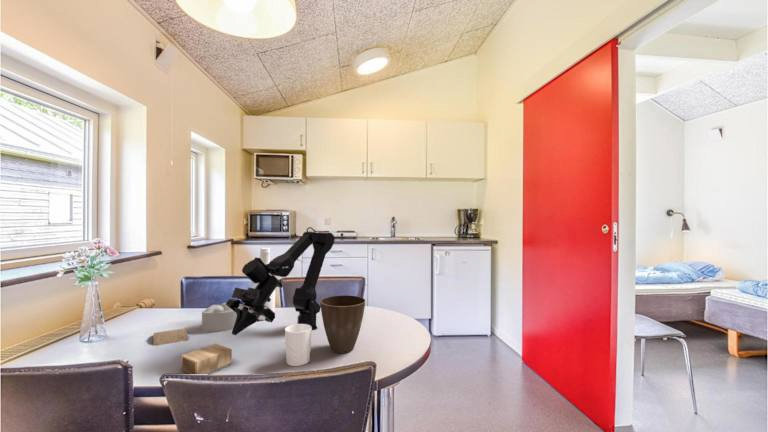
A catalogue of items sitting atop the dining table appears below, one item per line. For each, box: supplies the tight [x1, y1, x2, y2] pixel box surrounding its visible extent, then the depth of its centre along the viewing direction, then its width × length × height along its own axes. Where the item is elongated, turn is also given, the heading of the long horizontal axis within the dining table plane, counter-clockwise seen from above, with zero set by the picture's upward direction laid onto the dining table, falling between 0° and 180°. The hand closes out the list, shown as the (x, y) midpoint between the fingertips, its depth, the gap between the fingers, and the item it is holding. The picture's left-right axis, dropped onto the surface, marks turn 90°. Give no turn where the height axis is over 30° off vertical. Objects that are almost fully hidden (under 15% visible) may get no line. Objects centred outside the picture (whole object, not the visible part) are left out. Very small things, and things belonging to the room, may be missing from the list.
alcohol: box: [253, 247, 276, 321], centre depth 138 cm, size 9×9×30 cm
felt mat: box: [206, 364, 231, 375], centre depth 91 cm, size 8×10×1 cm
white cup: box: [284, 323, 313, 367], centre depth 96 cm, size 8×8×10 cm
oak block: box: [180, 343, 233, 375], centre depth 91 cm, size 4×8×10 cm
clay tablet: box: [152, 327, 189, 347], centre depth 114 cm, size 14×10×3 cm
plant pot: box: [319, 294, 366, 354], centre depth 105 cm, size 15×15×16 cm
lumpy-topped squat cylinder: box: [201, 302, 237, 333], centre depth 125 cm, size 10×13×9 cm
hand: (233, 334), depth 98 cm, fingers closed
